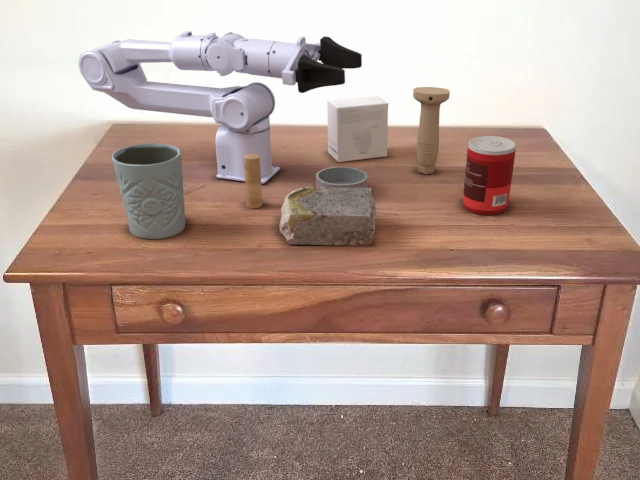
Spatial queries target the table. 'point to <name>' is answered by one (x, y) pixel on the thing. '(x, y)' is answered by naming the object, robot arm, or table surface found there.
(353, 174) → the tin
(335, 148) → the cosmetics box
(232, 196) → the table surface
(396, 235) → the table surface
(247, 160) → the stick
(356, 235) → the geological specimen
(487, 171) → the canned food
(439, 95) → the handle
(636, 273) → the table surface
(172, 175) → the drinking glass
